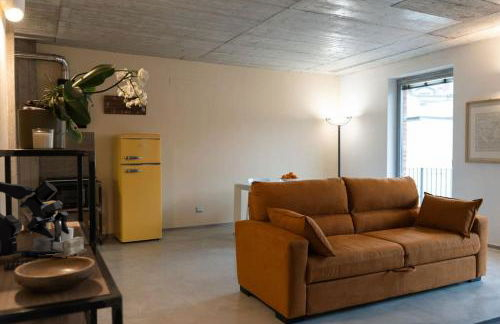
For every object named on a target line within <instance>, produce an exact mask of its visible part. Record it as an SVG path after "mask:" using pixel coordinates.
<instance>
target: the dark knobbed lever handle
mask: <svg viewBox="0 0 500 324" xmlns="http://www.w3.org/2000/svg"><path fill="white" fill-rule="evenodd" d="M53 231H54V232H53V236H54V240H53V241H51V249H61V250H64V241H62V224H61V221H54V229H53Z"/></svg>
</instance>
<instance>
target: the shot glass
mask: <svg viewBox="0 0 500 324" xmlns="http://www.w3.org/2000/svg"><path fill="white" fill-rule="evenodd" d="M67 227H68V230H69V234H66V233H64V232H63V231H62V241H65V240H68V239H72V238H74V229H75V228H74V227H70V226H67Z"/></svg>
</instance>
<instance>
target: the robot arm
mask: <svg viewBox="0 0 500 324" xmlns="http://www.w3.org/2000/svg"><path fill="white" fill-rule="evenodd" d="M57 192H58V189H57V187H56V186H54V185H53V184H52V183H50V182H48V181H47V180H44V181H42V182H41V183H40V185H38V186H37V187H36V188H34V187H31V186H29V185H27V184H21V183H20V184H19V183H17V184H16V183H7V182H4V181H0V193H3V194H5V195H7V196H8V197H10V198H13V199H16V200H23V199H24V201H20V205H19V208H20V209H26V208H27V209H28V210H29V211H30V213H31V217H32V219H30V221H29V222H28V223H27V224H26V230H28V232H33V233H37V234H38V235H41V236H43V237H49V238H51V239H52V238H53V237H54V233H52V231H51V230H49V229H48V227H47V226H46V223H51V222H52V223H53V224H54V221H61V224H62V231H63V232H64V233H66V234H69V230H68V227H69V226H68V225H67V219H68V217H69V213H68V212H67V211H59V210H62V209H63V206H64V203H63V202H62V201H60V200H55V201H56V202H53V203H51V204H49V205H44V203H43V202H44V201H45V202H48V201H49V200H50V199H51V198H52V197H53V196H54V195H55V194H56V193H57ZM57 210H58V213H57V215H56V216H55V217H53V215H55V214H56V212H55V211H57ZM22 229H23V224H22V222H21V220H20V218H17V217H16V216H14V215H13V214H10V215H4V214H2V213H1V212H0V255H1V256H9V255H14V254H16V253H20V250H18V242H17V238H16V237H18V236H19V233H20V232H21V231H22Z"/></svg>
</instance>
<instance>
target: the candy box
mask: <svg viewBox="0 0 500 324" xmlns="http://www.w3.org/2000/svg"><path fill="white" fill-rule="evenodd" d="M56 201H57V200H50V201H49V200H47V201H45V202H44V201H42V202H43V203H44V205H49V204H51V203H53V202H56ZM55 212H56V214H55V215H53V217H55V216H56V215H57V213H59V210H57V211H55ZM46 226H47V227H48V229H51V228H54V224H53V223H52V222H51V223H46ZM51 230H52V229H51Z"/></svg>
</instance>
